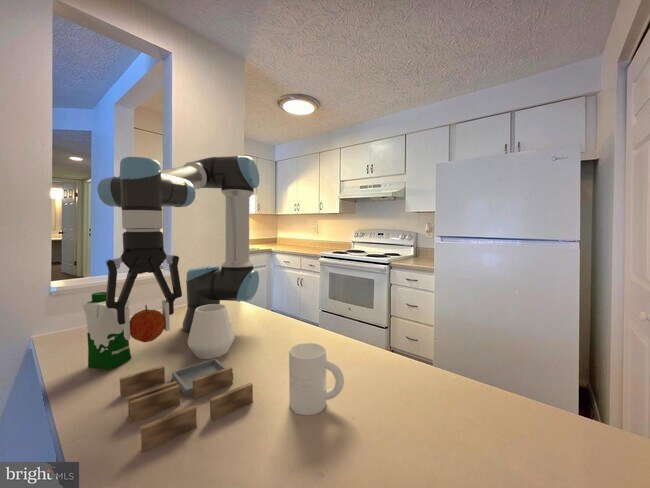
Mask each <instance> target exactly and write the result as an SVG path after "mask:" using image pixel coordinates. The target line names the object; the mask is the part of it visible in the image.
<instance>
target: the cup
mask: <svg viewBox="0 0 650 488" xmlns="http://www.w3.org/2000/svg"><path fill="white" fill-rule="evenodd" d="M234 340H235V332H234V329H233V325H232V322H231V318H230V315H229V312H228V308H227V306H226V305H225V304H221V303H220V304H209V305H203V306H200V307H198V308H196V310H195V313H194V317H193V322H192V326H191V330H190V332H189V335H188V338H187V345H188V347H189V348H190V350H191V351H192V352H193V354H194V355H195V356H196V358H198V357H199V359H203V360H212V359H217V358H220V357H222V356H224V355H225V354H226V353H228V352H229V349H230V348H231V346H232V344H233V342H234Z"/></svg>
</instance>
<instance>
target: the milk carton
mask: <svg viewBox="0 0 650 488" xmlns="http://www.w3.org/2000/svg"><path fill="white" fill-rule="evenodd" d="M106 293H107V291H99V292H98V291H97V292H93V293H92V294H91V300H89V301H87V302H83V303H82V307H83V311H84V314H85V317H86V331H87V333H86V334H87V349H88V350H87V368H88V369H94V370H101V369H102V371H103V370H104V371H112V370H113V369H115V368H116V367H119V366H120V364H121V365H123V364H125V363H127V362H128V361H130V360H132V354H131V347H130V341H129V340H130V339H129V340H126V339H125V337H124V324H121V325H119V323H118V321H117V309H114V308H108V307H107V306H106ZM118 299H119V297H116V296H115V302H117V301H118ZM130 302H131V298H128V300H127V303H126V305H125V307H126V306H127V307H128V308H129V309H130V304H131V303H130ZM122 363H123V364H122Z"/></svg>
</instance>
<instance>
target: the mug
mask: <svg viewBox="0 0 650 488" xmlns="http://www.w3.org/2000/svg"><path fill="white" fill-rule="evenodd" d="M288 355H289V356H288V364H289V366H288V369H289V370H288V371H289V387H288V388H289V389H288V390H289V407H290V409H291V410H292V412H294V413H295V414H297V415H300V416H312V415H317V414H318V413H320V412H322V411H323V410H324V409H325V408H326V406H327V401H328V400H332V399H335V398H336V397H338V395H339V394H341V392H342V391H343V389H344V386H345V377H344V374H343V371H342V370H341V368H340V366H339V365H338V364H336V362H334V361H332V360H330V359H327V349H326V347H324V346H323V345H321V344H319V343H314V342H313V343H312V342H305V343H299V344H296V345H294V346H291V348H290V349H289V351H288ZM327 370H328V371H329V372H331V374H332V376H333V377H334V380H335V381H334V385H333V387H331V388H330V389H327Z"/></svg>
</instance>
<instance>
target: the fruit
mask: <svg viewBox="0 0 650 488" xmlns="http://www.w3.org/2000/svg"><path fill="white" fill-rule="evenodd" d="M144 307H145V309H142V310H141V311H137V312H136V313H134V314H133V315H132V317H130V337H131V338H132V339H134V340H136V341H139V342H141V343H150V342H152V341H153V342H154V340H156V339H157V338H158V337H160V336H161V334H163V331H165V329H164V327H165V319H164V317H163V315H162V312H160V311H159V310H157V309H148V305H147V304H145V306H144Z"/></svg>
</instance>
